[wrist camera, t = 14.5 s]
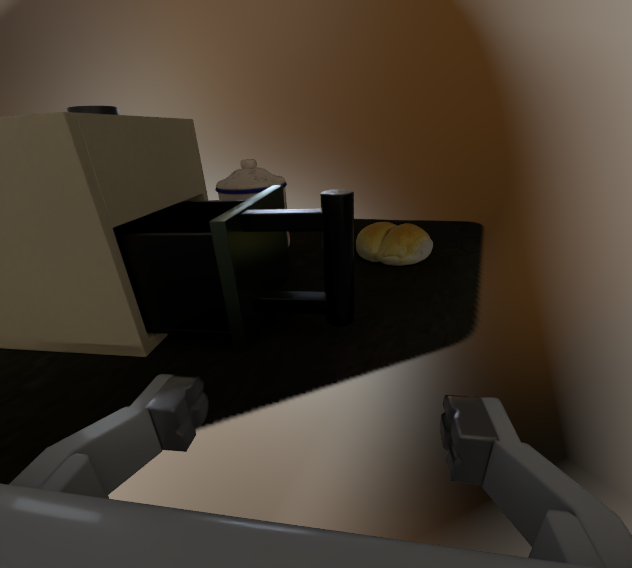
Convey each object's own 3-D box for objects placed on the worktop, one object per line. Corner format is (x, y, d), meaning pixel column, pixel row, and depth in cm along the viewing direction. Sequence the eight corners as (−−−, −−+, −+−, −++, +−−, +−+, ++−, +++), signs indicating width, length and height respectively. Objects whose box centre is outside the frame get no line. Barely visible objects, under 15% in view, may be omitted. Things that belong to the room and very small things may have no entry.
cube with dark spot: (223, 278, 36) (191, 109, 29) (146, 357, 24) (56, 94, 17) (113, 277, 39) (58, 119, 31) (-11, 347, 26) (-149, 112, 19)
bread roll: (377, 240, 46) (378, 212, 44) (438, 252, 40) (442, 220, 39) (341, 257, 41) (340, 225, 39) (406, 273, 35) (409, 237, 33)
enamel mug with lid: (278, 261, 40) (268, 161, 36) (214, 257, 43) (195, 164, 38) (305, 233, 51) (299, 154, 46) (252, 232, 53) (241, 156, 48)
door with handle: (358, 272, 33) (359, 170, 29) (352, 354, 21) (351, 200, 17) (170, 269, 37) (146, 178, 32) (71, 339, 25) (12, 208, 20)
